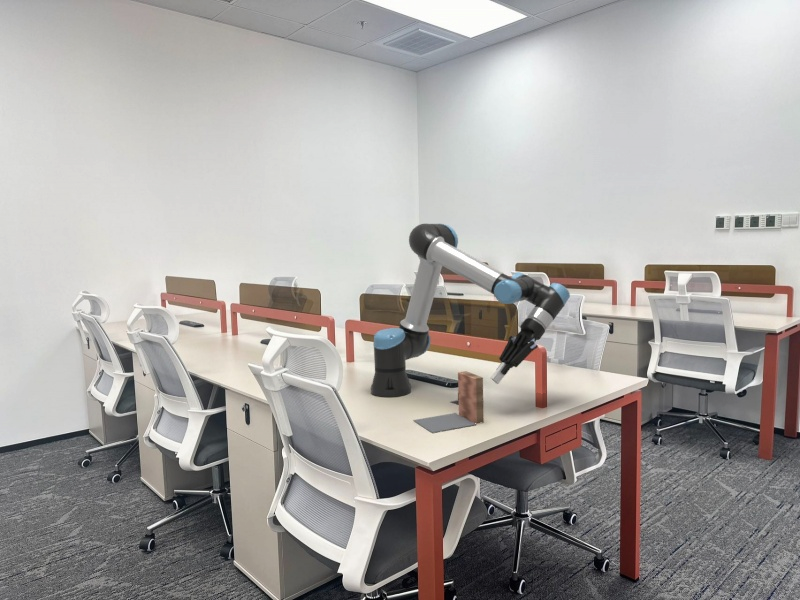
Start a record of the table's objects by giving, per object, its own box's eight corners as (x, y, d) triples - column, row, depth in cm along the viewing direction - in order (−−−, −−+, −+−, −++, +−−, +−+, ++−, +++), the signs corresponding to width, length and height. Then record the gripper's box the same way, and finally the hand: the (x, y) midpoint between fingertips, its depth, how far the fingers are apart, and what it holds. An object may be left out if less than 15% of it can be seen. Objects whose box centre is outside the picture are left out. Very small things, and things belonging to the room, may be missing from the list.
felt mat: (413, 421, 174) (413, 420, 174) (455, 413, 180) (455, 412, 180) (432, 433, 162) (432, 432, 162) (476, 425, 168) (476, 424, 168)
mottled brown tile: (458, 415, 179) (458, 372, 178) (467, 413, 180) (466, 371, 179) (475, 423, 170) (474, 378, 169) (483, 422, 171) (482, 377, 170)
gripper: (555, 333, 177) (513, 392, 172) (530, 329, 189) (490, 383, 184) (542, 318, 175) (498, 377, 170) (517, 315, 187) (476, 370, 182)
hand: (494, 381), depth 177 cm, fingers closed
